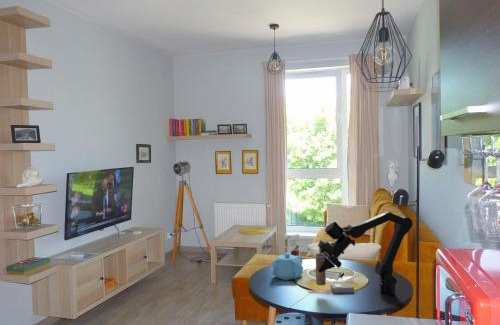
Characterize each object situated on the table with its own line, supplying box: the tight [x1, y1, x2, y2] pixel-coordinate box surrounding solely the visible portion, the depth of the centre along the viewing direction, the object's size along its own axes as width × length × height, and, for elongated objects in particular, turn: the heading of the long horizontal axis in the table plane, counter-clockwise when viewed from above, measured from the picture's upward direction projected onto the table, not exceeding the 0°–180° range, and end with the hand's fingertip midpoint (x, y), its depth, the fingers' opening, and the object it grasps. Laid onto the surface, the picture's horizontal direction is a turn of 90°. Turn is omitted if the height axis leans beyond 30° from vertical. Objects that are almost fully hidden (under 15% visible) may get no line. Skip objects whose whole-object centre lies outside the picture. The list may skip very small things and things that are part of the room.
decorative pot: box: [271, 252, 304, 282], centre depth 218 cm, size 16×16×14 cm
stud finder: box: [330, 282, 355, 294], centre depth 192 cm, size 10×6×3 cm, turn 93°
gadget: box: [309, 269, 342, 281], centre depth 218 cm, size 23×15×4 cm, turn 155°
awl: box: [315, 247, 327, 286], centre depth 186 cm, size 4×4×18 cm
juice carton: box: [283, 232, 301, 261], centre depth 244 cm, size 8×9×19 cm
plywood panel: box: [306, 289, 334, 294], centre depth 187 cm, size 22×16×1 cm
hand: (317, 270), depth 186 cm, fingers closed on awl, 4 cm apart
